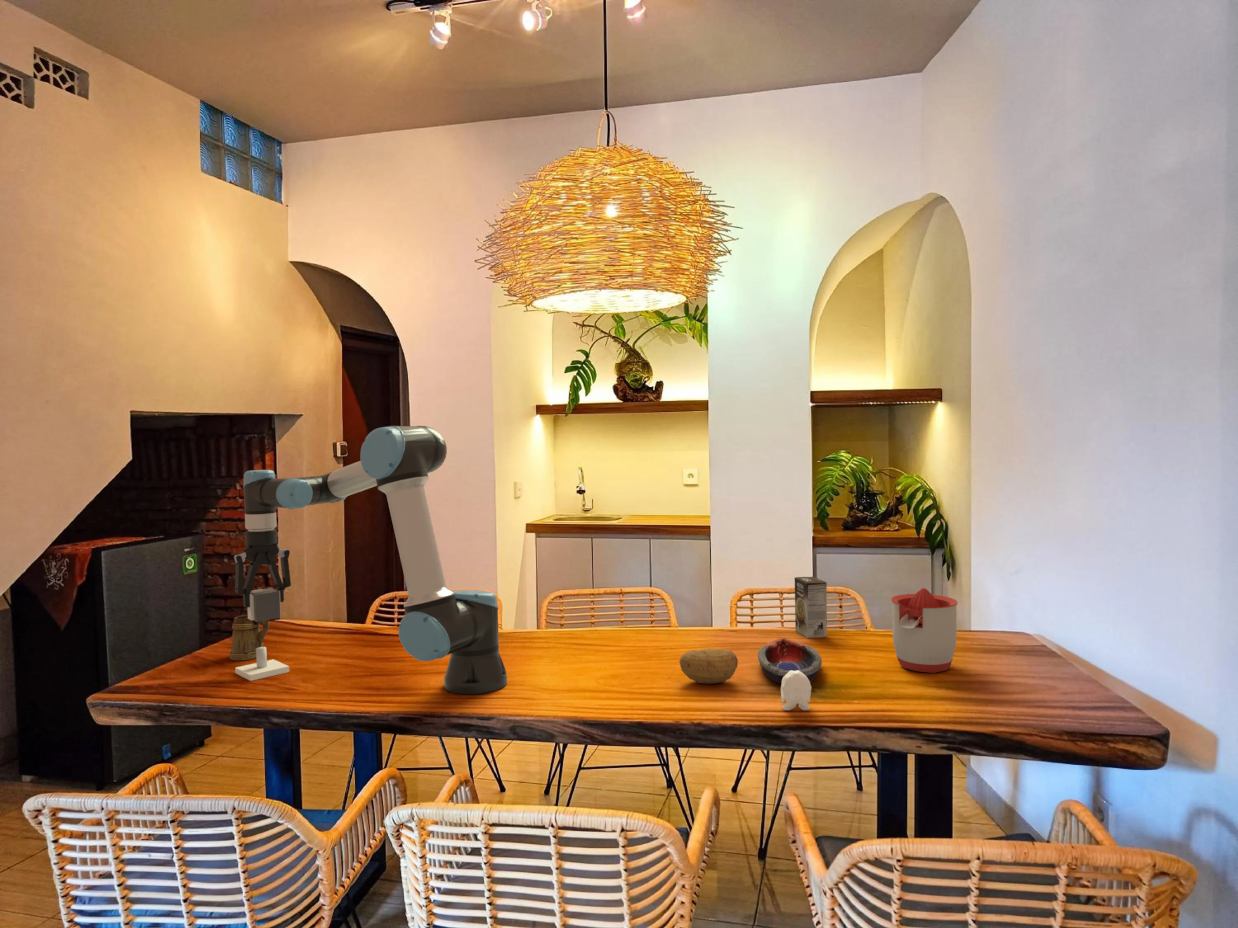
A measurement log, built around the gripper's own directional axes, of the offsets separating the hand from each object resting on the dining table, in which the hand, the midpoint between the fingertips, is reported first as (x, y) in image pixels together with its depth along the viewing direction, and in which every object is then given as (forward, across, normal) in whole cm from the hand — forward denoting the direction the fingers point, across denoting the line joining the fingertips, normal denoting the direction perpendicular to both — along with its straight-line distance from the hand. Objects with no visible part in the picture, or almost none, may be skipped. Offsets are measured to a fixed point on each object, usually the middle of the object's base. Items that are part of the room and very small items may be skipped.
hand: (264, 616), depth 217 cm
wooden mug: (+15, -3, -18) cm, 24 cm away
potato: (+14, -73, +90) cm, 117 cm away
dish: (+14, -95, +97) cm, 137 cm away
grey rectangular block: (0, 0, 0) cm, 0 cm away
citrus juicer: (+13, -119, +120) cm, 170 cm away
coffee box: (+13, -128, +80) cm, 152 cm away
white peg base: (+15, +1, 0) cm, 15 cm away
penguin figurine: (+13, -75, +114) cm, 137 cm away
